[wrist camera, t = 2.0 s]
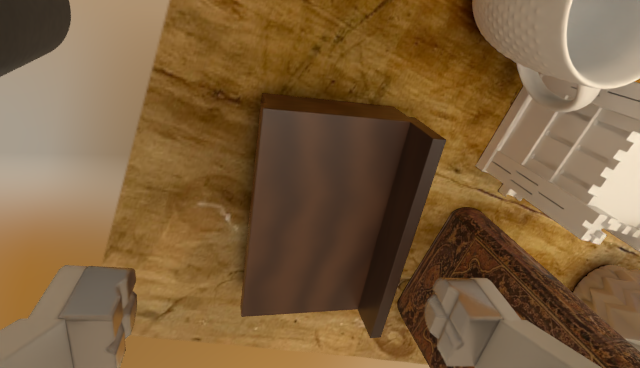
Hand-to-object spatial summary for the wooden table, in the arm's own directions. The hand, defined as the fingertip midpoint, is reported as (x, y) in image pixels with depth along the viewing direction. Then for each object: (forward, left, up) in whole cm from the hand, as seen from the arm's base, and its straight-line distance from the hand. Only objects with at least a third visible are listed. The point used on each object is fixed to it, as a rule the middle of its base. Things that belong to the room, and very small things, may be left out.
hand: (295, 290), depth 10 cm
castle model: (+35, -3, -26) cm, 44 cm away
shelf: (+9, -12, -26) cm, 30 cm away
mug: (+24, +9, -26) cm, 37 cm away
